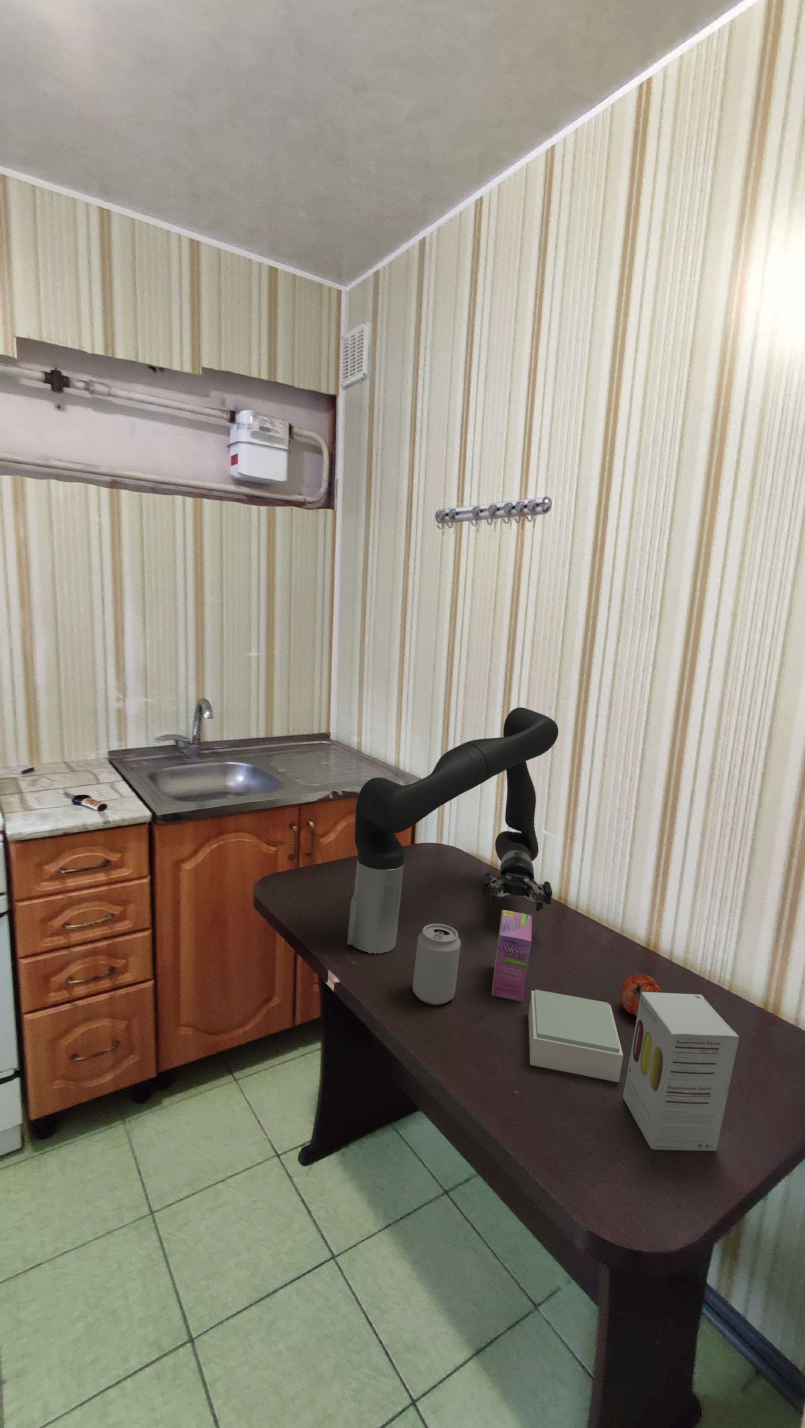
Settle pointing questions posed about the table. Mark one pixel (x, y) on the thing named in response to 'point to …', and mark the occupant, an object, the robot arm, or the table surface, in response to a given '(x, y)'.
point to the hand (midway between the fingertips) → (516, 903)
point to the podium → (574, 1035)
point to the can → (436, 964)
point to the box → (512, 955)
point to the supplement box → (679, 1071)
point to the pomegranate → (637, 991)
